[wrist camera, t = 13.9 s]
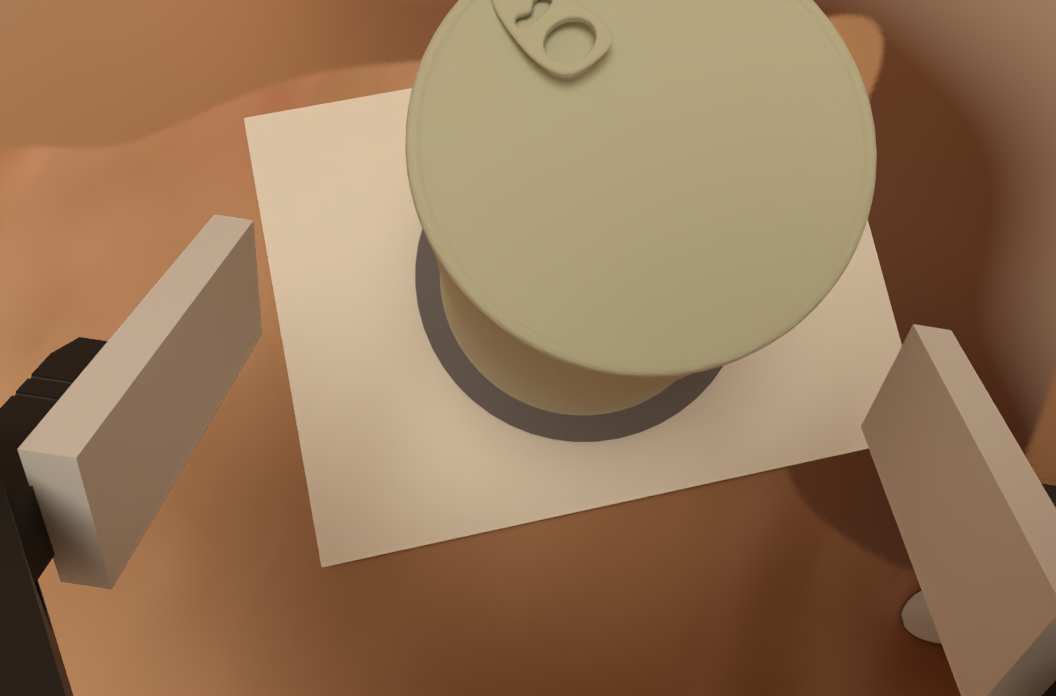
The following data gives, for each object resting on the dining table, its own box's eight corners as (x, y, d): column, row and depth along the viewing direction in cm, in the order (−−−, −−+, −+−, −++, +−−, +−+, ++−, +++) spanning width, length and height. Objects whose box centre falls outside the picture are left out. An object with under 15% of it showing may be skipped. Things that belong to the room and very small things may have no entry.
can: (588, 89, 28) (659, -188, 16) (776, 287, 27) (994, 151, 15) (382, 264, 27) (293, 105, 15) (571, 475, 26) (638, 485, 14)
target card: (805, 26, 29) (814, 14, 29) (917, 436, 28) (929, 435, 27) (249, 125, 28) (241, 115, 27) (325, 565, 26) (319, 568, 25)
